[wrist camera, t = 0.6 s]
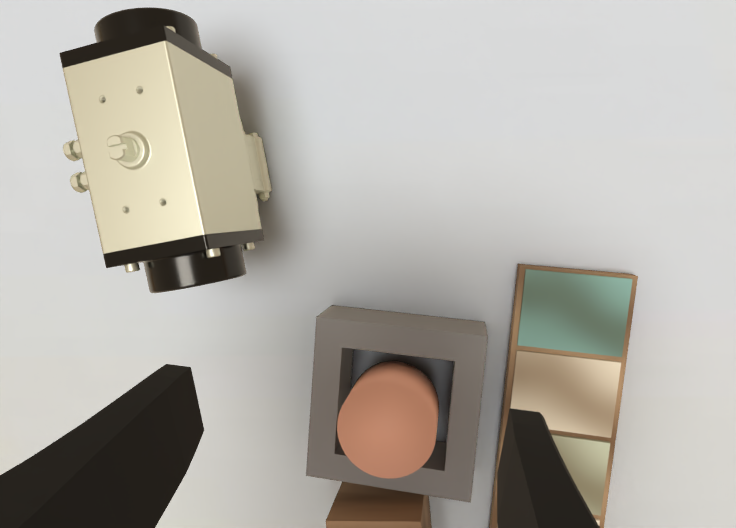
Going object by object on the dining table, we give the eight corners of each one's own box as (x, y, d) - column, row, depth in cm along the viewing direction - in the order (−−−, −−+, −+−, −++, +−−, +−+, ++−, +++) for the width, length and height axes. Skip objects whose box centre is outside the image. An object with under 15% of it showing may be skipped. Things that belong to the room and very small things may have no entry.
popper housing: (469, 470, 31) (470, 502, 28) (322, 447, 33) (306, 475, 29) (484, 321, 30) (487, 336, 27) (332, 305, 32) (316, 316, 28)
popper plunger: (434, 452, 29) (431, 485, 25) (348, 439, 29) (333, 470, 26) (442, 367, 28) (440, 389, 25) (354, 356, 29) (340, 375, 25)
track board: (590, 579, 31) (595, 594, 29) (485, 560, 32) (486, 574, 30) (631, 274, 29) (638, 276, 27) (518, 263, 30) (520, 266, 28)
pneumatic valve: (259, 63, 31) (137, -27, 19) (297, 259, 32) (202, 288, 20) (174, 85, 32) (9, 11, 20) (213, 274, 33) (75, 310, 21)
